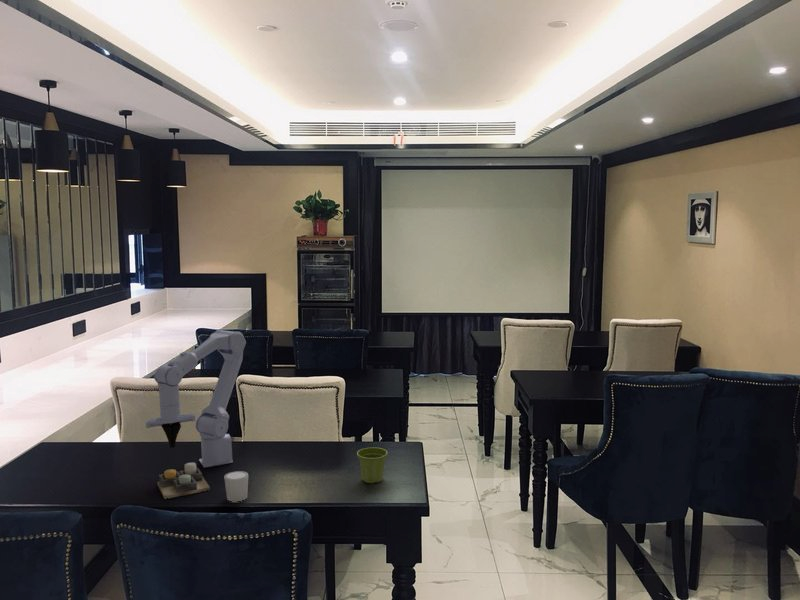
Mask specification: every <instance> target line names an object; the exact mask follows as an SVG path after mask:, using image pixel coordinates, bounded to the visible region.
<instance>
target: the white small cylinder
mask: <svg viewBox="0 0 800 600" xmlns="http://www.w3.org/2000/svg"><path fill="white" fill-rule="evenodd" d="M196 468H197V462H187V463H185V464H184V470H185V474H188V475H193V474H197V471H196Z"/></svg>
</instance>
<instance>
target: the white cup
mask: <svg viewBox="0 0 800 600" xmlns="http://www.w3.org/2000/svg"><path fill="white" fill-rule="evenodd" d="M223 476H224V477H223V478H224V485H225V492H226V499H227V501H228V500H229V501H232V502H231V503H238V502H237V501H241V502H243V501H242V500H244V501H246V500H247V499H248V490H249V489H248V488H249V487H248V486H249V473H248V472H247V471H243V470H241V471H240V470H236V471H231V472H227V473H226V474H224V475H223ZM246 498H247V499H246ZM245 499H246V500H245ZM229 501H228V502H229Z"/></svg>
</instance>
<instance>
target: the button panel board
mask: <svg viewBox="0 0 800 600" xmlns="http://www.w3.org/2000/svg"><path fill="white" fill-rule="evenodd" d="M196 471H197V474H193V475H191V483H188V484H182V485H179V476H181V475H185V469H184V470H180V471H176V478H171V479H166V480H165V476H164V473H162V474H158V477H159V481H157V483H156V484H157V487H158V490H159V491H160V493H161V495H162V498H163V499H164V500H167V498H168V499H172V498H177V497H182V496H188V495H192V494H197V493H202V491H203V492H208V491H211V487H210V485H209V484H208V482H207V481H206V480H205V478H204V476H203V473H202V471H201V470H200V468H199V467H196ZM207 490H208V491H207Z"/></svg>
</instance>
